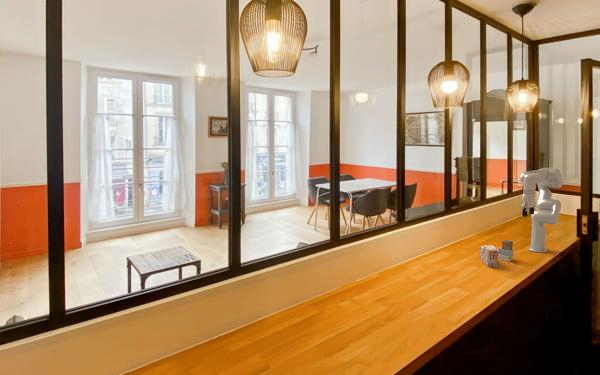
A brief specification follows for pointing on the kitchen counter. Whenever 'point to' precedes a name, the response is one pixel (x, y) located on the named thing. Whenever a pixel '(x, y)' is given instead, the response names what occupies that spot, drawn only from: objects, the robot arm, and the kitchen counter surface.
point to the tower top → (506, 252)
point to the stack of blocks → (489, 255)
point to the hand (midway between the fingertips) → (528, 215)
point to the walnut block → (507, 245)
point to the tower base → (505, 257)
